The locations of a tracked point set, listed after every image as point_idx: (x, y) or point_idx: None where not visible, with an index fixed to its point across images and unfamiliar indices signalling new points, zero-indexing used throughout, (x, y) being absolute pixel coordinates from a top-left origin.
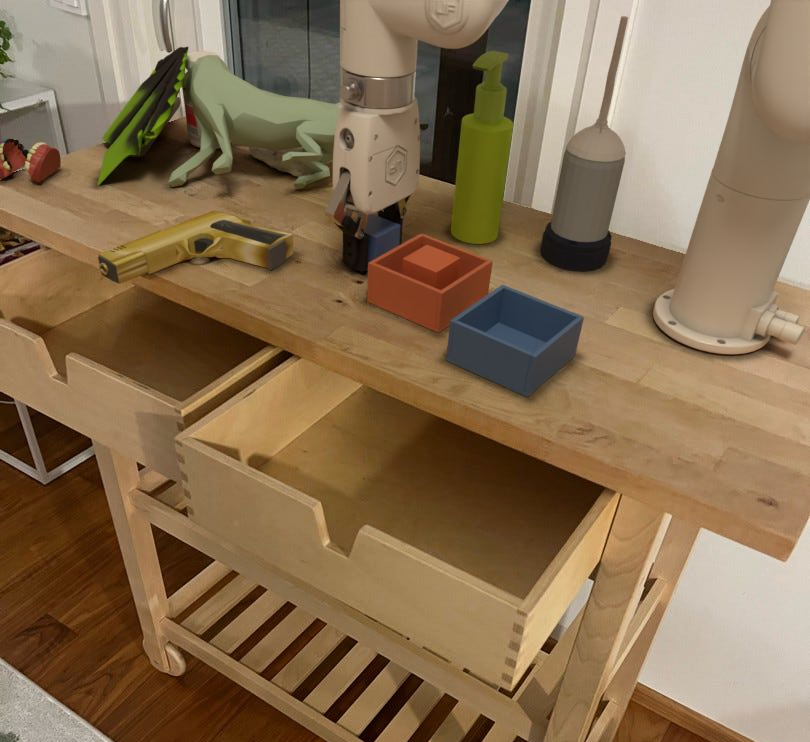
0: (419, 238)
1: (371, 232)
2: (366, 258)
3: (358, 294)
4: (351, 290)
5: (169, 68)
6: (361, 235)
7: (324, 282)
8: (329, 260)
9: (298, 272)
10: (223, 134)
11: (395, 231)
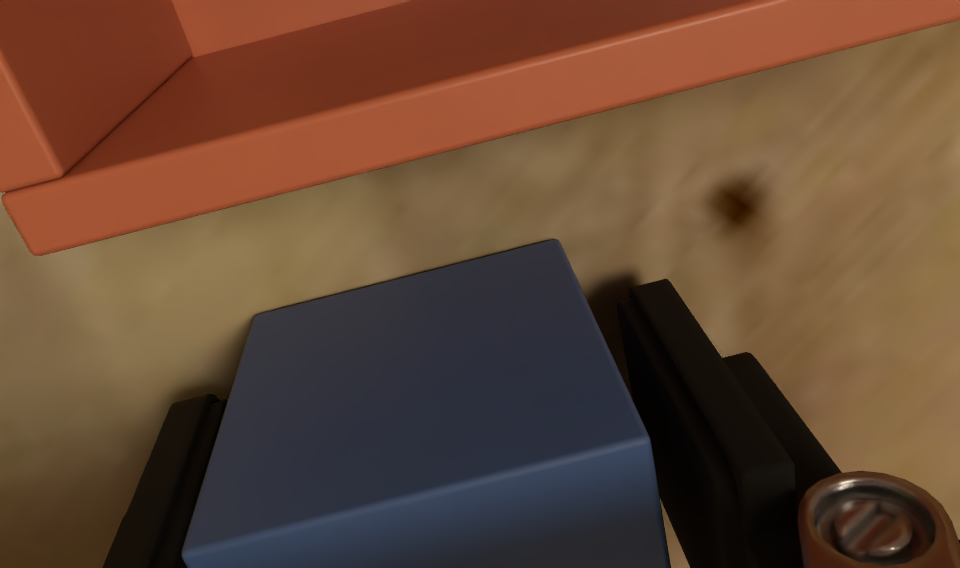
0: (139, 157)
1: (612, 543)
2: (676, 334)
3: (890, 54)
4: (877, 138)
5: None
6: (845, 506)
7: (915, 328)
8: (668, 527)
9: None
10: None
11: (284, 492)
